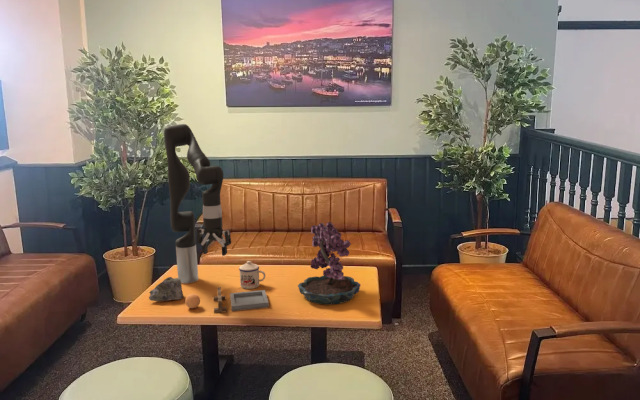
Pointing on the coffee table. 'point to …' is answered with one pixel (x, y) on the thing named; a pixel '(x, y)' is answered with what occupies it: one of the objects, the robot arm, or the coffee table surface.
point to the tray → (249, 300)
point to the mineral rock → (167, 290)
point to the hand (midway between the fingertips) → (214, 254)
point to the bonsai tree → (329, 269)
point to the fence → (220, 302)
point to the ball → (192, 301)
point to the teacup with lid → (250, 275)
